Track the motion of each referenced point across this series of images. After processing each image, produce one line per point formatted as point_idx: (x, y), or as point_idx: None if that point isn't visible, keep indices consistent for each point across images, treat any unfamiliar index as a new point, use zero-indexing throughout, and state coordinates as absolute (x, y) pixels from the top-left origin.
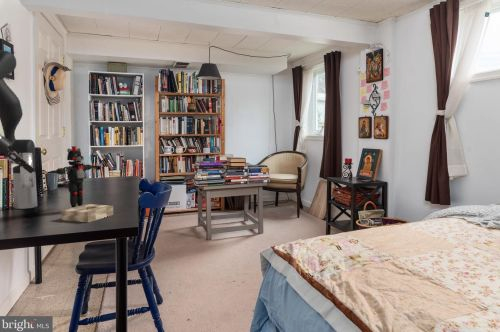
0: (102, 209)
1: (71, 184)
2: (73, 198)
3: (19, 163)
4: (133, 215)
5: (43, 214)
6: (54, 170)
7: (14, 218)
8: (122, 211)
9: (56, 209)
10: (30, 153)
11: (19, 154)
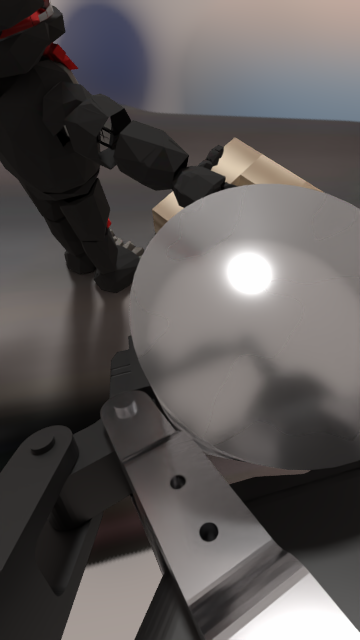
0: (276, 166)
1: (99, 197)
2: (114, 242)
3: (129, 493)
4: (262, 120)
5: (96, 389)
6: (206, 179)
7: (127, 507)
8: (183, 143)
9: (3, 351)
10: (337, 207)
11: (357, 451)
